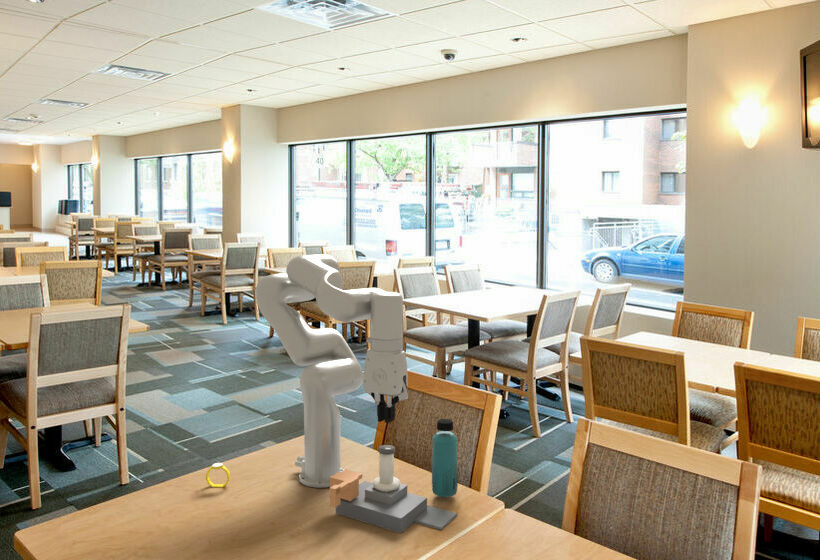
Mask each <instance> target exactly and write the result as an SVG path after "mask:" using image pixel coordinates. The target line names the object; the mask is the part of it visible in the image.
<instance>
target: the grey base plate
mask: <svg viewBox="0 0 820 560" xmlns="http://www.w3.org/2000/svg"><path fill="white" fill-rule="evenodd" d="M427 505H428V497H427V496H421V495H418V494H414V493H410V492H408V484H404V483H401V482H400V486H399V488H398V489H396V490H393V492H391V493H390V494H389V493H385V492H382V491H379V490H377V489H375V488H374V487H373V482H370V481H367V480H364V481H362V482H361V483H359V496H357V497H356V498H354V499H353V500H351V501H348V500H345V499H341V498H340V505H338V506H337V507H335V514H336V515H340V516H343V517H347V518H350V519H353V520H356V521H360V522H363V523H366V524H369V525H372V526H377V527H379V528H382V529H386V530H389V531H391V532H396V533H399V534H402V533H403V532H404V531H406V530H407V529H408V528H410V527H411V526H412V525H413V524H414V523H415V522H414V520H415V519H416V518H417V517H418V516H420V515H421V514H422V513H423V512H424V511H426V510H427Z"/></svg>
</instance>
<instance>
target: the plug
mask: <svg viewBox="0 0 820 560" xmlns="http://www.w3.org/2000/svg"><path fill="white" fill-rule="evenodd" d="M377 449H378V450H377V451H378V453H379V454H378V455H379V460H378V461H379V464H378V465H379V466H378V467H379V468H378V469H379V473H378V474H379V476H378V477H375V478H374V479H373V480H372V483H373V487H374V488H375V489H377V490H379V491H382V492H385V493H389V494H390V493H391V492H393V490H396V489H398V488H399V486H400V483H401V480H400V479H399V478H397V477H396V476H394V475H395V474H394V467H395V466H394V461H395V460H394V459H395V458H394V455H395V453H396V447H395V446H394V445H390V444H383V445H379V446H378V447H377Z"/></svg>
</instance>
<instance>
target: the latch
mask: <svg viewBox="0 0 820 560" xmlns="http://www.w3.org/2000/svg"><path fill="white" fill-rule="evenodd" d="M362 478H363V473H361V472H357V471H353V470H349V469H344V471H342V472H338V473H336V474H334V475H333V476H331V477H330V487H329V506H330V507H331V508H334V509H336V507H337V506H338V505H340V498H341V499H345V500H348V501H351V500H353V499H354V498H356V497H357V496H359V484H360V483H359V482H360V481H359V480H361V479H362Z"/></svg>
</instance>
